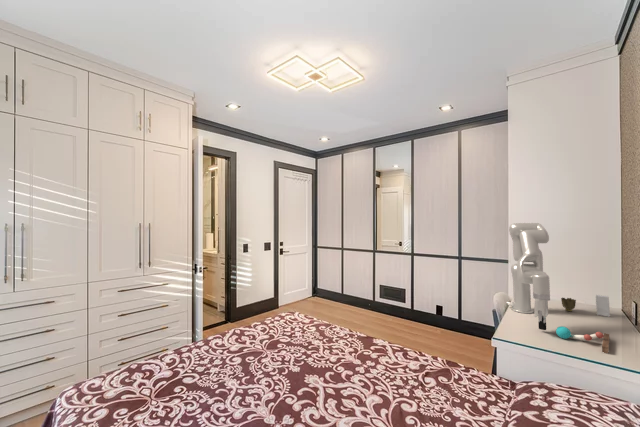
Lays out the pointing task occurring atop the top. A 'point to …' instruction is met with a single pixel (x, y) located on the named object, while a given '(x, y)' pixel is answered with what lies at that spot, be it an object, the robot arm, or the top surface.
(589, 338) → the pin
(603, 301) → the skincare box
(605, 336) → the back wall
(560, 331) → the ball
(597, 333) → the pin
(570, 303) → the cup
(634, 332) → the top surface
